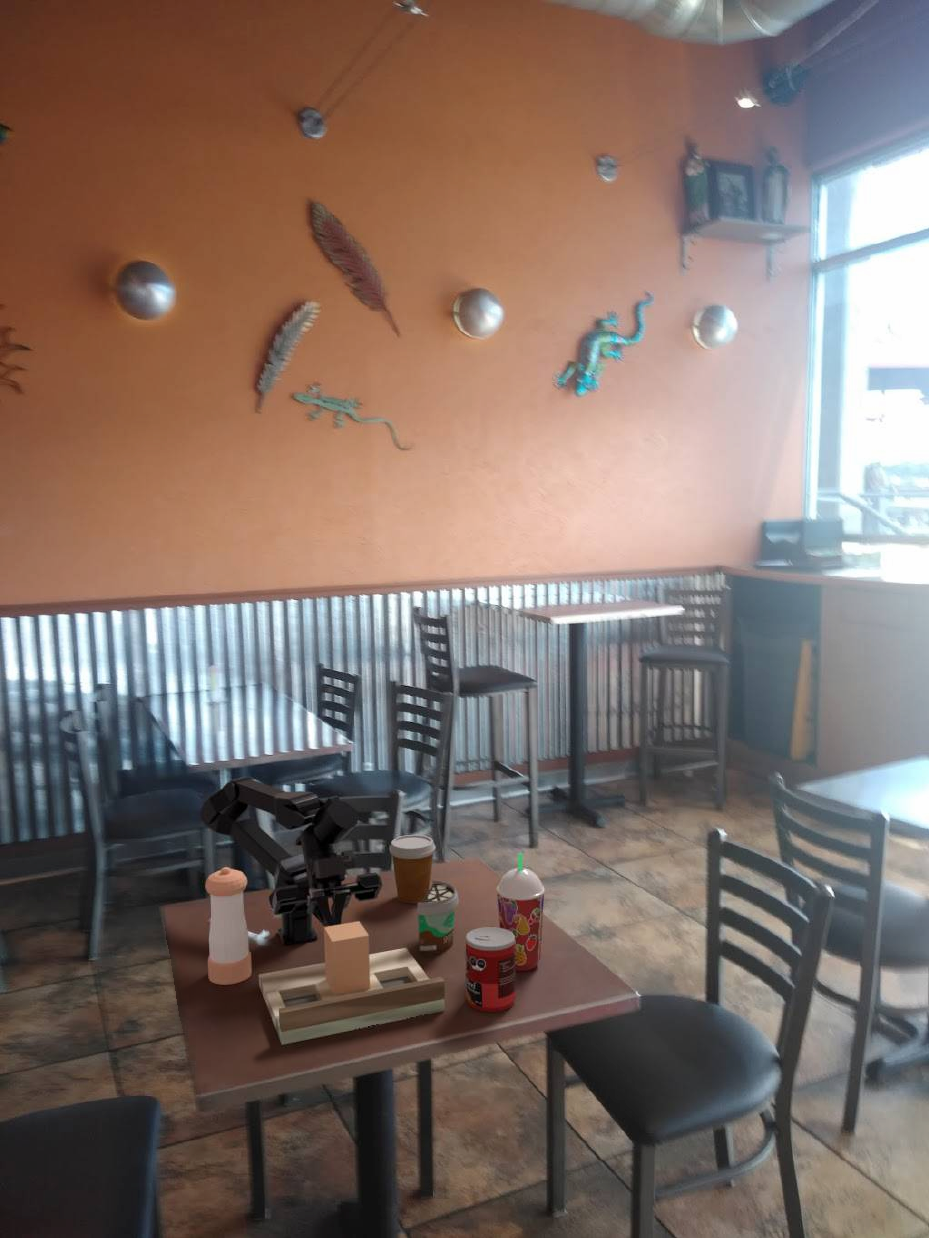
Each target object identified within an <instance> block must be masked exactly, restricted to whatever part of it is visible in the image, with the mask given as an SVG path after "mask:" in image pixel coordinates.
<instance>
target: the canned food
mask: <svg viewBox="0 0 929 1238" xmlns="http://www.w3.org/2000/svg"><path fill="white" fill-rule="evenodd" d="M465 972H466V973H465V979H466V981H465V985H466V986H465V987H466V992H465V993H466V994H465V995H466V999H467V1002H468V1004H469V1006H470V1007H471V1008H473V1009H475V1010H477V1011H481V1012H485V1013H497V1012H502V1011H505V1010H508V1009H510V1008H511V1007H513V1005H514V1004H515V1000H516V970H515V936H514V934H513V933H512V932H510V931H508V930H506V929H503V928H500V927H498V926H497V927H496V926H484V927H478V928H474V929H472V930H471V931H469V932H468V933H466V935H465Z"/></svg>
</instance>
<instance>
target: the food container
mask: <svg viewBox="0 0 929 1238" xmlns="http://www.w3.org/2000/svg"><path fill="white" fill-rule="evenodd" d="M431 882H432V883H431V884H432V885H431V887H430V888H429V891H428V892H427V893H426V895H425V897H424V899H423V901H422V902H421V903H417V909H416V911H417V912H416V913H417V914H416V915H417V917H418V918H417V919H418V920H417V921H418V939H419V940H418V941H419V955H427V956H428V955H435V954H440V953H444V952H446V951H448V950H449V949H451V948H452V946H453V945H454V933H455V932H454V931H455V915H456V907H457V906H458V905H459V902H460V900H459V895H458V892H457V889H456V888H455V886H454V885H452V884H451V883H449V882H447V881H443V880H438V879H432V881H431Z"/></svg>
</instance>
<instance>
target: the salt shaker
mask: <svg viewBox="0 0 929 1238" xmlns="http://www.w3.org/2000/svg"><path fill="white" fill-rule="evenodd" d="M205 880H206V881H205V885H204V886H205V890H206V892H207V893H208V894H209V895H210V914H211V915H210V916H211V917H210V923H209V924H210V925H209V933H208V934H209V935H208V944H209V945H208V946H209V947H208V948H209V950H208V951H209V955H208V957H207V972H208V973H207V974H208V980H209V981H210V982H211V983H213V984H216V985H221V986H223V985H224V986H228V985H234V984H235V985H236V984H238V983H242V982H243V981H246V980H247V979H249V978H250V977H251V976H252V953H251V951H250V950H249V931H248V926H247V921H246V917H245V916H246V915H245V906H244V905H245V904H244V903H245V902H244V891H245V890H246V887H247V885H248V878H247V876H246V875H245V873H244V872H243V871H241V870H237V869H233V868H231V867H227V866H225V867H222V868H221V869H220V870H217V871H216V872H213V873H211V874H210V875H209V876H208V877H207V879H205Z"/></svg>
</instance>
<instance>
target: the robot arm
mask: <svg viewBox="0 0 929 1238" xmlns="http://www.w3.org/2000/svg"><path fill="white" fill-rule="evenodd" d="M249 807H253V808H255V809H259V810H261V811H263V812H266V813H269V814H271V815H272V816H274V820H275V822H276V823H277V824H279V825H281V826H282V827H284V828H285V829H287V830H290V831H291V830H295V829H299V828H301V827H304V826H307V827H305V828H304V829H303V830H300V832H299V835H298V836H297V838H295V839H296V840H295V843H294V844H295V845H296V846H301V850H302V853H300V854H297V855H291V854H290V853H289V852H288V851H287V850H286V849H285V848H284V847H282V846H281V844H280V843H278V842H277V841H276V840H274V838H273V837H271V836H270V835H269V834H268V833H267V831H265V830H264V829H263V828H261V827H260V826H259V824H257V823H256V822H255V821H254V820H252V818H251V817H250V811H249V810H250V809H249ZM199 814H200V819H201V821H202V823H203V824H204V826H206V827H207V828H208V829H210V830H211V831H213V832H214V833H216V834H218V835H219V834H220V835H222V836H223V835H225V836H229V837H231V838H233V840H235V842H236V843H238V844H239V845H240V846H241V847H242V848H243V849H244V850H245V852H247V853H248V854H249V855H250V856H251V857H253V858H254V860H256V861H257V862H258V863H259V864H260V865H261V866H262V867H263V868H264V869H265V870H266V871H267V872H268V873H269V874H270V875H271V876H272V877H273V882H274V883H273V885H274V890H273V892H271V894H270V895H269V896H268V900H269V901H268V902H269V905H270V909H272V911H273V915H276V916H278V915H280V916H281V917H280V918H281V928H278V929H277V935H278V936H279V938H280V940H281V943H282V944H283V945H285V946H286V945H293V944H298V943H303V942H309V941H315V940H316V941H317V940H318V939H319V936H318V934H317V932H316V930H315V929H314V927H313V916H314V918H316V919H317V920H318V921H319V923H321V925H322V926H323V928H324V927H328V926H334V925H340V924H342V919H343V912H344V909H346V908H348V907H349V904H350V902H351V899H352V897H353V895H354V898H355V899H356V900H357V901H359V902H367V901H370V900H371V901H372V900H376V899H377V898H379V897H378V896H379V894H380V892H381V889H382V887H383V881H382V878H381V875H379V874H378V872H369V873H364V874H358V875H357V876H356V877H355V882H350V883H343V882H345V879H346V875H347V871H348V870H354V869H355V868H356V867H357V864H356V862H357V861H356V857H355V853H354V850H353V849H348V850H343V851H341V853H340V855H341V856H339V855H338V853H337V852H336V849H335V844H338V843H340V842H341V841H342V840H343V839H344V838H345V837H346V836H347V835H348V834H349V833H350V832H351V831H352V830H353V829H354V828H355V827H356V825H357V824H358V822H359V815H358V812H357V809H355V807H353V806H352V805H351V804H350V803H348V802H346V801H344V800H341V799H340V797H339V796H338V795H333V796H331V797H328V798H327V799H326V800H325V801H324V800H323V799H321V798H319V796H318V795H317V793H314V792H313V791H303V790H297V791H286V790H282V789H280V788H277V787H274V786H271V785H268V784H266V783H262V782H260V781H258V780H254V778H252V777H248V776H243V777H239V778H235V779H231V780H229V781H228V782H227V783H225V784H224V786H223V787H222V788H221V789H219V790H218V791H217V792H216V793H213V795H211V796H210V797H209V798H208V799H207V800H205V801H204V802H203V804H202V807H201V808H200V813H199ZM329 899H331V900H332V903H331V906H330V904H329V903H330V902H329Z"/></svg>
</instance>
